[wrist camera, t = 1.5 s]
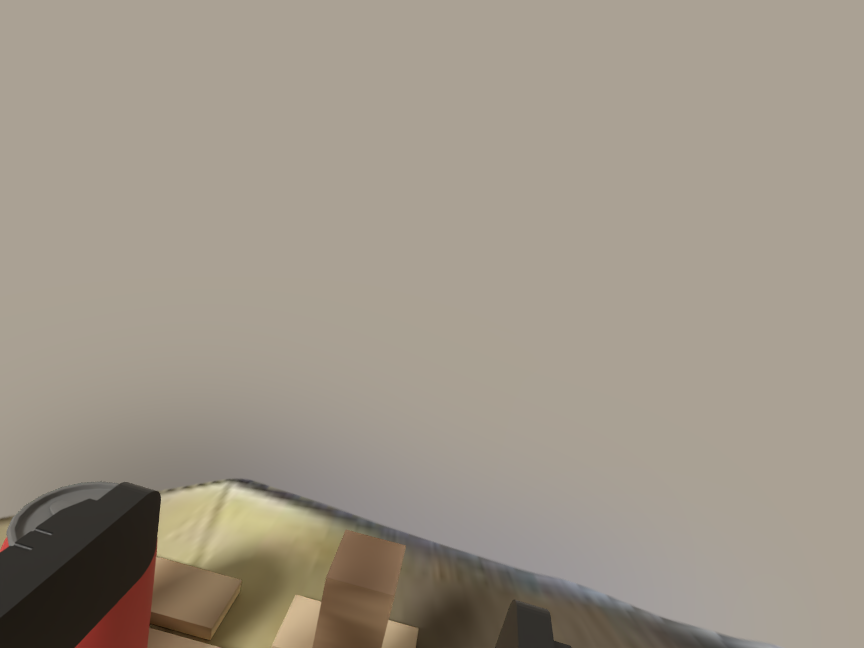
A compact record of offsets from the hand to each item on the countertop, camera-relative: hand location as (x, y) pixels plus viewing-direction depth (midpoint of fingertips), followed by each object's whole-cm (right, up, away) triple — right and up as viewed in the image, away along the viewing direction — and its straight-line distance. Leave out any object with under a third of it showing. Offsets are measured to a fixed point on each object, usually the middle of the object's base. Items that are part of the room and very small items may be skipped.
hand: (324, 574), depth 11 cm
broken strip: (-10, -15, +22) cm, 29 cm away
